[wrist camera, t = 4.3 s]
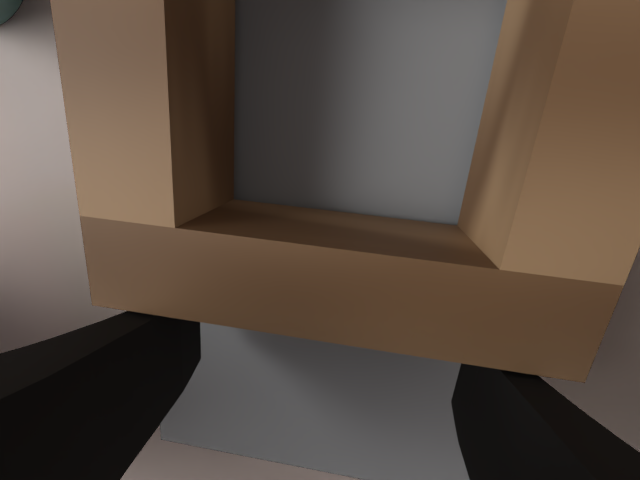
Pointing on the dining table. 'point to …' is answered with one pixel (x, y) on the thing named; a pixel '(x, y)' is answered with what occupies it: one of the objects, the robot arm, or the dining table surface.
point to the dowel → (8, 9)
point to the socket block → (358, 229)
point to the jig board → (352, 197)
